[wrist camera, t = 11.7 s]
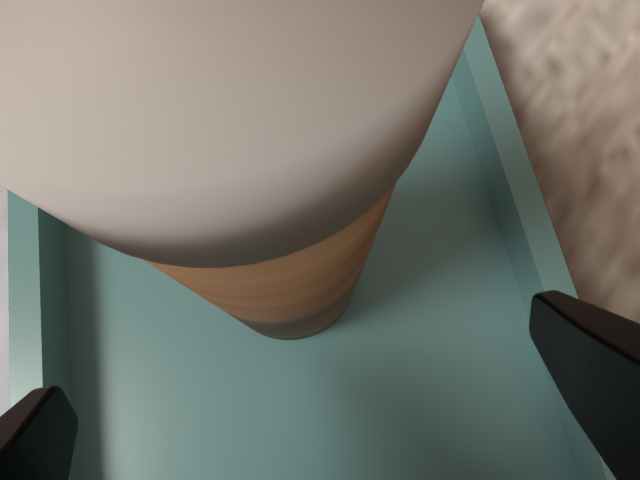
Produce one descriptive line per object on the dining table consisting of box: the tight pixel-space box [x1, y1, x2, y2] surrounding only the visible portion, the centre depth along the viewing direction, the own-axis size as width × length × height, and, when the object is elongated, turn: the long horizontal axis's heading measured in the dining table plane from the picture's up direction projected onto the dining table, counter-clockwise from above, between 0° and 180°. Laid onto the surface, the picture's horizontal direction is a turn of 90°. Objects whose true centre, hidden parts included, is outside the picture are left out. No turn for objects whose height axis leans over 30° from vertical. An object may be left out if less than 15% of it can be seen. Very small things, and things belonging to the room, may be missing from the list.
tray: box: [8, 14, 616, 480], centre depth 16 cm, size 20×18×2 cm
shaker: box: [0, 0, 484, 340], centre depth 10 cm, size 5×5×14 cm
